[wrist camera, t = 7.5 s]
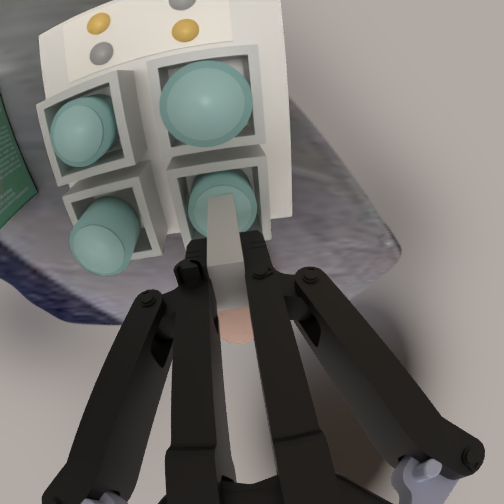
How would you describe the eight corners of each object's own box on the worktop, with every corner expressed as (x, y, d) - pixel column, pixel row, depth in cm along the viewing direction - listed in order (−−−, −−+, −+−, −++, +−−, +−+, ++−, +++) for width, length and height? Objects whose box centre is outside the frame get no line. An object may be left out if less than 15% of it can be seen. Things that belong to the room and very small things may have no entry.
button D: (186, 168, 18) (181, 185, 16) (248, 159, 18) (254, 175, 16) (196, 221, 21) (195, 245, 18) (253, 213, 21) (259, 236, 18)
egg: (196, 239, 25) (192, 314, 18) (266, 235, 26) (288, 307, 19) (202, 290, 29) (203, 363, 22) (263, 286, 30) (279, 356, 23)
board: (51, 36, 11) (13, 34, 7) (271, -17, 12) (289, -42, 8) (99, 235, 23) (80, 271, 19) (286, 205, 24) (303, 239, 20)
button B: (77, 203, 16) (57, 227, 13) (130, 190, 16) (116, 213, 14) (97, 253, 19) (84, 281, 16) (148, 244, 19) (139, 273, 16)
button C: (164, 71, 12) (152, 70, 10) (242, 59, 12) (249, 55, 10) (175, 140, 15) (167, 155, 12) (249, 129, 15) (256, 142, 12)
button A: (65, 105, 13) (42, 113, 11) (118, 86, 14) (101, 88, 11) (78, 159, 16) (59, 175, 14) (130, 144, 16) (115, 158, 14)
